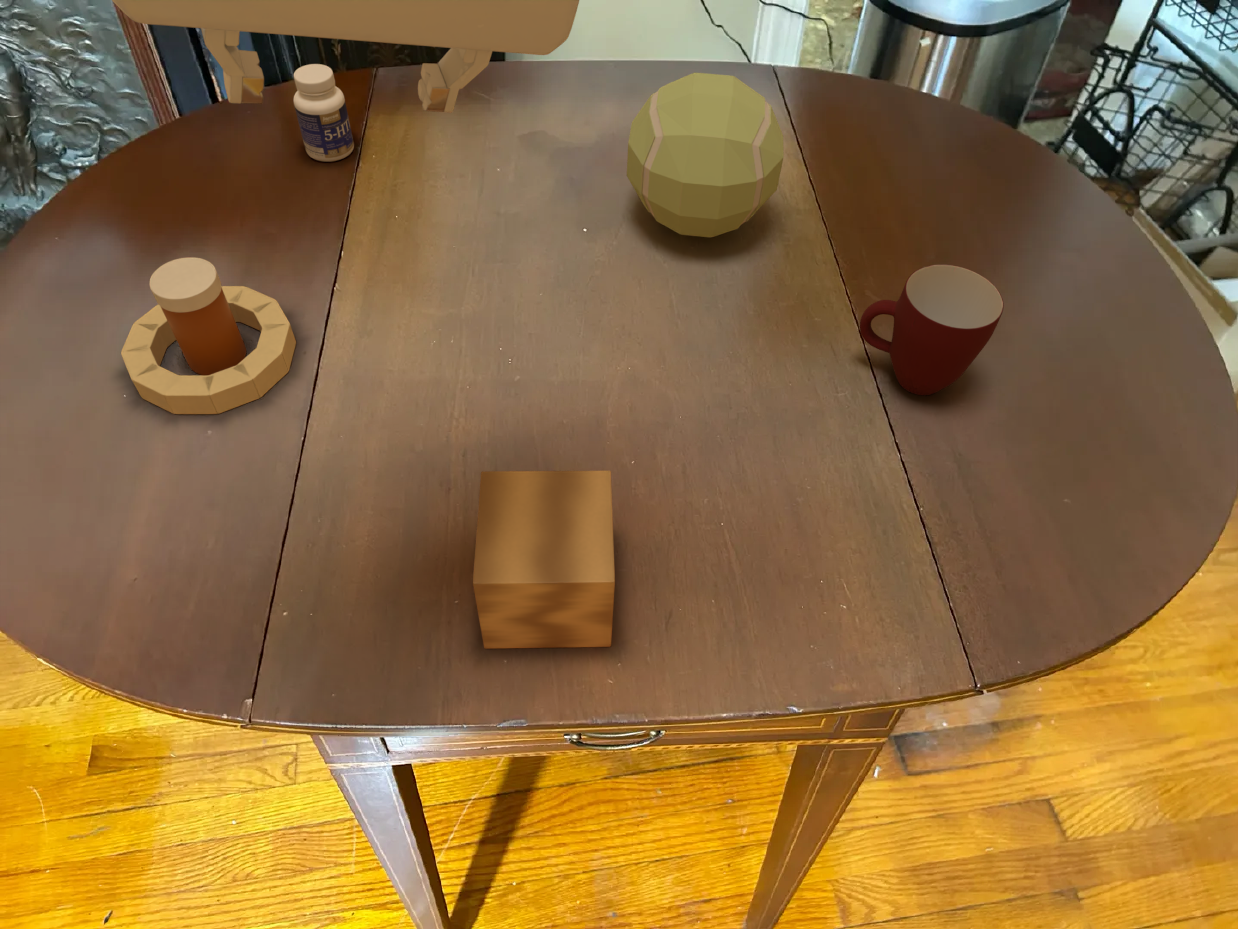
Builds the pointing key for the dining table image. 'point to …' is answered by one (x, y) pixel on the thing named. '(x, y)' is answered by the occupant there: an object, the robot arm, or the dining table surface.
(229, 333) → the amber bottle
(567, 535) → the block stand
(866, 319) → the mug
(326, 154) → the pill bottle
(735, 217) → the decorative sphere
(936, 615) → the dining table surface
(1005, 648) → the dining table surface
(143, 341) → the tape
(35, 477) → the dining table surface
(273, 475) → the dining table surface
